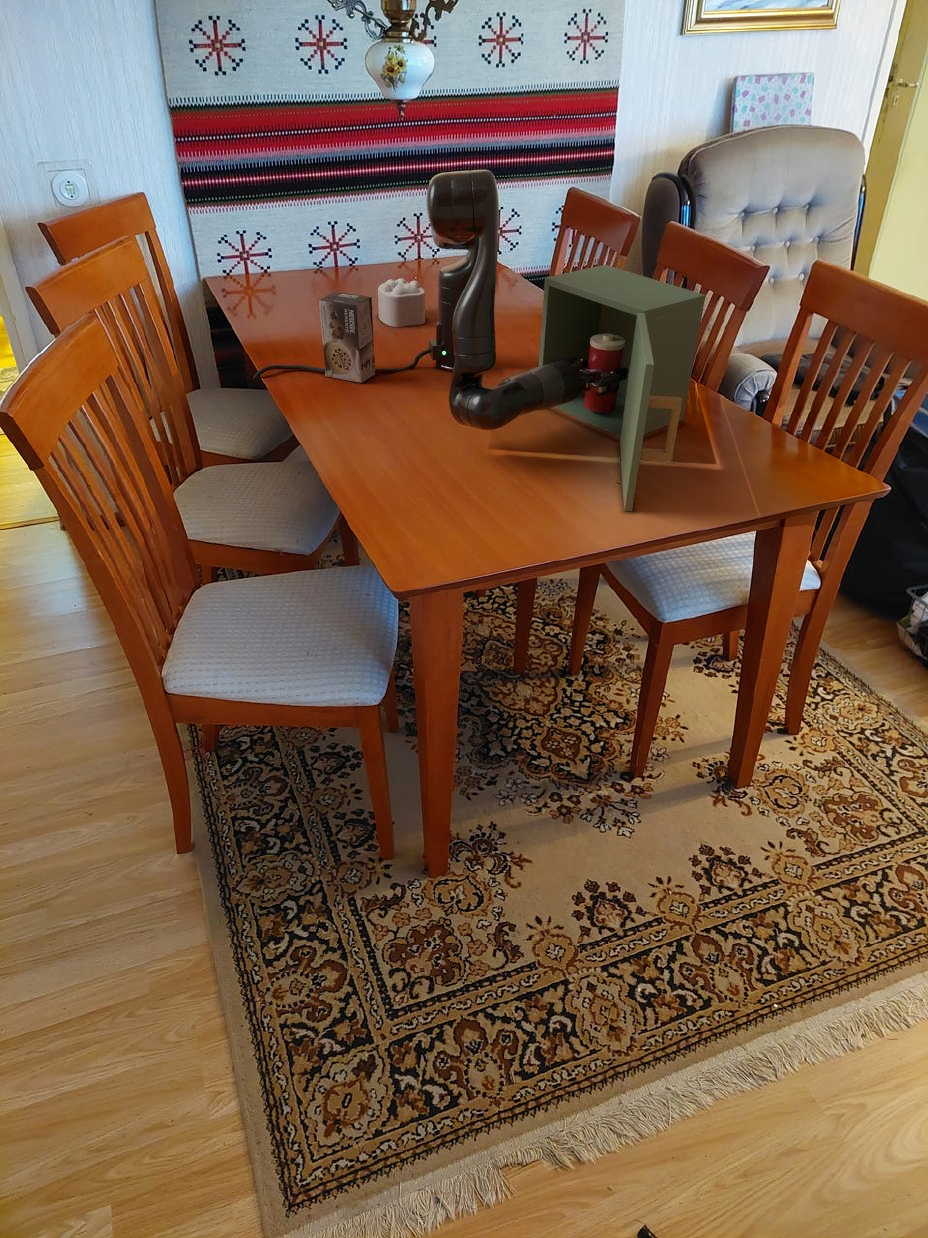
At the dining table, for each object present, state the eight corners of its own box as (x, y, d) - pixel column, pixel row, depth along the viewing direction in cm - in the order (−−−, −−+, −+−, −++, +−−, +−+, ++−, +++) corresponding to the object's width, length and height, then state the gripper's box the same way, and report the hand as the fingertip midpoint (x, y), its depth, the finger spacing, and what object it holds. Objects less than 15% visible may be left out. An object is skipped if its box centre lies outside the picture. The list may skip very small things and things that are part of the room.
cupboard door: (654, 448, 160) (676, 314, 146) (664, 513, 141) (690, 366, 126) (619, 446, 161) (637, 312, 147) (624, 511, 141) (645, 364, 127)
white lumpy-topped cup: (389, 328, 212) (388, 291, 207) (371, 312, 222) (370, 276, 216) (429, 323, 216) (429, 286, 210) (410, 308, 225) (409, 272, 220)
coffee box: (376, 373, 188) (373, 296, 178) (361, 384, 183) (357, 304, 173) (339, 366, 191) (334, 290, 181) (323, 376, 186) (317, 298, 176)
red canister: (582, 411, 168) (591, 339, 160) (583, 398, 173) (591, 328, 165) (616, 413, 168) (626, 341, 159) (615, 400, 173) (625, 330, 165)
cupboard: (625, 445, 161) (644, 310, 147) (535, 403, 176) (544, 277, 162) (682, 424, 170) (705, 294, 155) (591, 385, 185) (605, 264, 170)
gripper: (579, 378, 152) (644, 358, 161) (523, 354, 161) (588, 336, 170) (574, 419, 157) (638, 398, 165) (520, 393, 165) (583, 374, 174)
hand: (612, 367), depth 167 cm, fingers closed on red canister, 6 cm apart
